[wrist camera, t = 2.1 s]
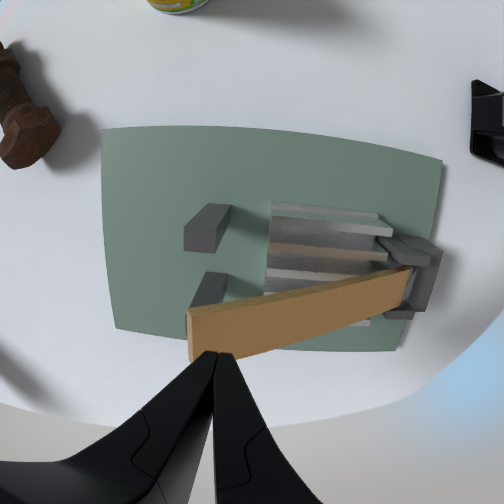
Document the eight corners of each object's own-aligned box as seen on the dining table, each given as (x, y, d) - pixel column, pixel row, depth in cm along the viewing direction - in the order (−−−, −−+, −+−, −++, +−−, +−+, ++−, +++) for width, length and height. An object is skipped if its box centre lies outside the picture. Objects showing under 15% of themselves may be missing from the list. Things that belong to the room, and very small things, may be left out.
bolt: (15, 50, 17) (67, 139, 20) (-21, 80, 16) (23, 177, 19) (0, 18, 11) (49, 109, 15) (-42, 53, 10) (-5, 157, 13)
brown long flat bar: (408, 259, 16) (421, 265, 16) (397, 300, 17) (409, 306, 17) (184, 300, 10) (193, 315, 9) (187, 360, 11) (195, 376, 10)
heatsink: (374, 211, 19) (394, 224, 15) (355, 304, 21) (368, 329, 18) (271, 200, 19) (272, 210, 16) (261, 298, 21) (260, 324, 18)
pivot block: (421, 236, 19) (452, 257, 15) (407, 291, 21) (432, 320, 16) (377, 231, 19) (403, 252, 15) (365, 288, 21) (385, 320, 16)
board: (435, 159, 18) (442, 160, 17) (391, 344, 23) (394, 351, 22) (109, 129, 18) (102, 129, 17) (120, 322, 24) (115, 328, 23)
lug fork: (230, 204, 19) (215, 228, 13) (226, 288, 21) (213, 338, 15) (207, 203, 19) (183, 226, 13) (205, 286, 21) (185, 335, 15)
